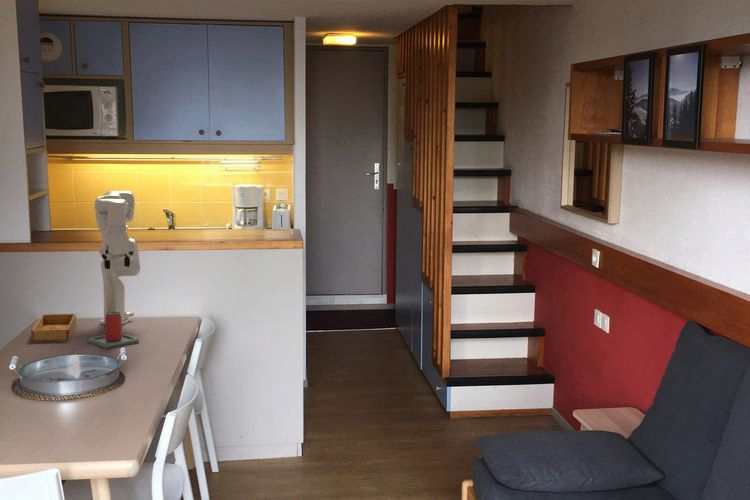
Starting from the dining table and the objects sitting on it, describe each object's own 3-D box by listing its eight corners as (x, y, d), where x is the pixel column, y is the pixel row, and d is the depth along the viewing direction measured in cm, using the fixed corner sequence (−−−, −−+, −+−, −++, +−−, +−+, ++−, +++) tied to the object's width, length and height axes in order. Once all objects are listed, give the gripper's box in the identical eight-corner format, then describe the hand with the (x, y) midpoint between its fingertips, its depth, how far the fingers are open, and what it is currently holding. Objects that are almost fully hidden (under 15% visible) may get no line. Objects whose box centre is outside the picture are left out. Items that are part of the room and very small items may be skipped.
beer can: (124, 339, 355) (124, 311, 353) (117, 342, 348) (117, 315, 347) (109, 338, 356) (109, 311, 354) (102, 341, 349) (102, 314, 348)
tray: (69, 341, 353) (68, 328, 352) (31, 342, 350) (31, 329, 349) (76, 325, 383) (76, 313, 382) (41, 326, 379) (41, 314, 378)
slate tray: (119, 336, 362) (119, 332, 362) (138, 342, 353) (138, 338, 353) (88, 342, 351) (88, 338, 351) (107, 348, 341) (107, 344, 341)
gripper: (129, 227, 368) (129, 264, 370) (94, 229, 355) (94, 268, 357) (138, 228, 363) (139, 266, 366) (103, 231, 350) (104, 270, 352)
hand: (117, 267), depth 361 cm, fingers open, 9 cm apart
